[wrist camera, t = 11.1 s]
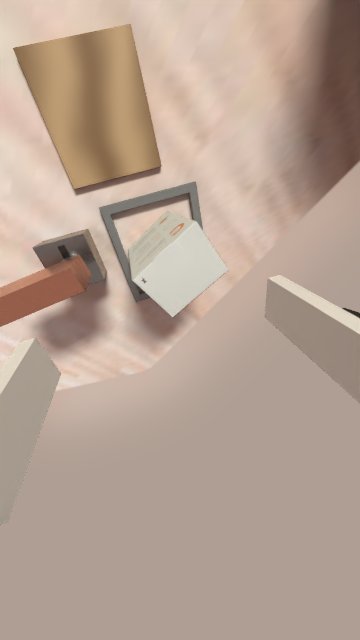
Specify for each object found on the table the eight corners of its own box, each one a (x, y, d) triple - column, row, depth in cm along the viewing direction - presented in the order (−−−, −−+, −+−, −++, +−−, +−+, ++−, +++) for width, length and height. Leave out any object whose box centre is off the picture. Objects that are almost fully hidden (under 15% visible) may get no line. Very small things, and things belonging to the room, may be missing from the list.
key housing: (88, 228, 28) (83, 233, 24) (106, 270, 31) (104, 279, 28) (43, 241, 27) (32, 247, 24) (67, 282, 30) (59, 293, 27)
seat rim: (194, 181, 28) (195, 181, 27) (208, 277, 35) (210, 278, 35) (99, 207, 27) (99, 207, 26) (135, 299, 34) (136, 301, 34)
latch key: (3, 282, 25) (-41, 314, 18) (83, 248, 25) (69, 268, 18) (18, 298, 26) (-18, 334, 19) (94, 266, 26) (85, 290, 20)
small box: (156, 279, 33) (171, 319, 23) (127, 249, 30) (129, 280, 19) (194, 244, 32) (230, 270, 21) (168, 209, 29) (195, 218, 18)
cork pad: (130, 28, 20) (130, 24, 19) (160, 166, 26) (161, 166, 25) (15, 51, 19) (13, 48, 19) (75, 189, 25) (74, 189, 25)
